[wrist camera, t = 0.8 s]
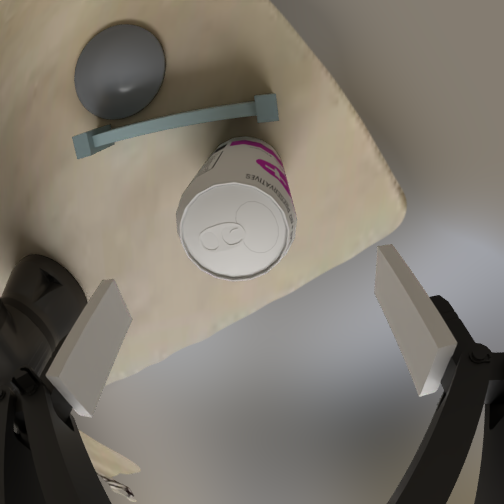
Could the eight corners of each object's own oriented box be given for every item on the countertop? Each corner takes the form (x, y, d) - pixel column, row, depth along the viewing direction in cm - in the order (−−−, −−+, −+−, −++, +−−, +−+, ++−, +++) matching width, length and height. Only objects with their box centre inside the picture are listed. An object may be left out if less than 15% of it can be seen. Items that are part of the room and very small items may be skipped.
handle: (101, 147, 31) (77, 159, 26) (97, 128, 30) (72, 137, 25) (276, 115, 30) (278, 120, 25) (273, 93, 28) (275, 93, 24)
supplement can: (270, 125, 30) (277, 154, 17) (292, 197, 34) (310, 272, 21) (196, 149, 32) (150, 196, 18) (222, 216, 35) (200, 299, 22)
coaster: (85, 129, 30) (83, 130, 30) (72, 44, 25) (69, 44, 24) (172, 105, 29) (171, 106, 29) (159, 13, 24) (157, 11, 23)
